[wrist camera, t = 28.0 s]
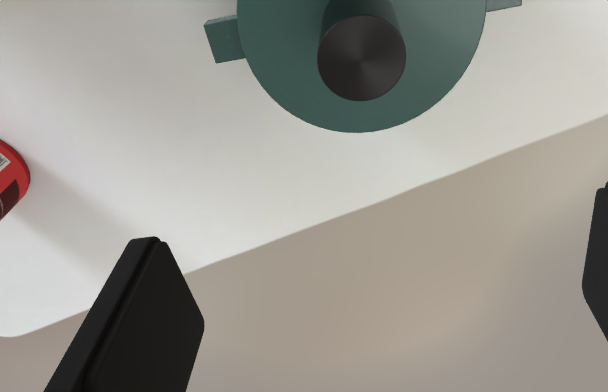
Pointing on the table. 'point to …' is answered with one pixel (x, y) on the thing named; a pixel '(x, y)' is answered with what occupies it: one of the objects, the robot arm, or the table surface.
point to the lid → (359, 56)
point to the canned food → (11, 178)
